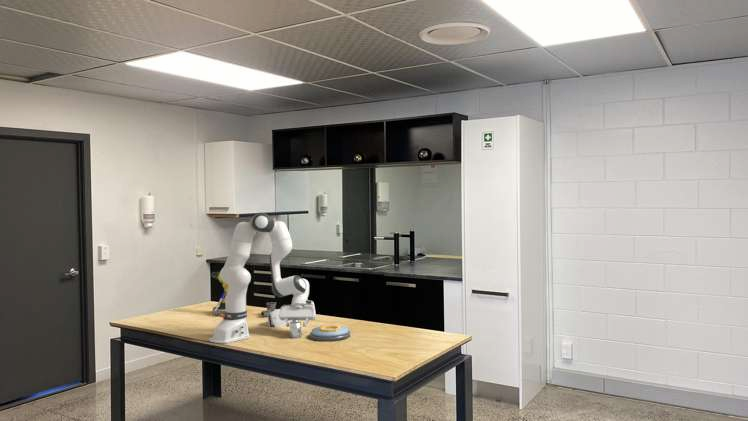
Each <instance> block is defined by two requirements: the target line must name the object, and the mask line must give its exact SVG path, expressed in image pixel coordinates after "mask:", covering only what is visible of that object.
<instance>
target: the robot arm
mask: <svg viewBox="0 0 748 421" xmlns="http://www.w3.org/2000/svg"><path fill="white" fill-rule="evenodd" d="M260 233H261V234H262V233H263V234H264V233H267V234H268V236H269V238H270V243H271V245H272V247H271V248H272V250H271V252H270V254H269V265H270V266H269V267H270V276H271V292H272V294H274V295H275V297H277V298H283V297H286V296H289V295H292V296H293V297H292V298H291V299H292V300H291V304H283V305H282V306H280V308H279V309H280V314H279V318H280V320H285V322H286V324H285V327H286V328H288V327H289V328H290V323H288V320H298V321H304V322H303V323H302V326H303V327H304V328H305V327H306V328H307V324H308V323H309V322H310V321H315V320H316V318H317V314H316V307H315V303H314V301H313V300H309V299H308V298H309V295H310V282H309V281H308V280H307V279H305V278H302V277H301V276H300V275H292V276H288V277H285V278H284V277H283V278H282V277H281V266H280V263H281V261H282V260H283V259H284V258H285V257H287V256H288V255H289V254H290V253H291V251H292V250H293V240H292V238H291V234H290V231H289V229H288V226H287V225H286V223H285V222H284V221H281V220H274V219H273V218H271V217H270V215H268V214H267V213H264V212H258V213H256V214H254V215H253V216H252V218H251V220H250V221H249V222H248V221H242V222H241V221H240V222H239V223H237V224H236V226H235V228H234V232H233V235H232V239H231V242H230V248H229V253H228V256H227V258H226V260H225V263H224V266H223V267H222V268H221V270H220V271H219V272H220V278H221V280H222V281H223V282H224V283H225V284H228V292H227V295H226V297H225V296H224V297H225V307H226V311H225V313H224V314H222V313H221V314H220V315H219V316H218V317H219V318H222V320H221V321H220V322H219V324H218V325H217V326H216V327H215V328H214V330H213V336H212V337H210V338H208V341H209V342H211V343H215V344H229V343H233V342H238V341H242V340H246V339H250V331H249V327H248V321H247V320H248V319H247V317H248V311H247V292H248V287H249V284H250V283H251V280H252V279H251V278H252V276H251V273H250V272H249V270H247V268H245V264H246V262H247V260H248V259H250V255H251V250H252V245H253V239H254V237H255V234H260Z"/></svg>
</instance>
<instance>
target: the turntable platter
mask: <svg viewBox="0 0 748 421" xmlns="http://www.w3.org/2000/svg"><path fill="white" fill-rule="evenodd" d="M348 330H349V328H348V327H346V326H341V325H324V326H317V327H314V328H312V329H311V332H312V335H314V336H318V337H338V336H343V335H346V334H347V333H348Z"/></svg>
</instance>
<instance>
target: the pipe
mask: <svg viewBox="0 0 748 421" xmlns="http://www.w3.org/2000/svg"><path fill="white" fill-rule="evenodd" d="M276 305H277V302H275V301H274V302H273V301H271V302H266V310H262V311H261V312H260V316H261V317H262V318H264V317H265V318H266V317H267V315H268V314H269V313H271V312H272V311H274V310H276Z"/></svg>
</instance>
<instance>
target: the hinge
mask: <svg viewBox="0 0 748 421" xmlns="http://www.w3.org/2000/svg"><path fill="white" fill-rule="evenodd" d="M280 309H281V308H278V309H275V310H274V311H272V312H271V313H269V314H268V315H267V316H266V317H267V322H268V327H272V326H274V328H277V327H280V326H284V325H285V326H286V322H285V320H280V318H279V314H280ZM290 322H292V320H288V323H289V324H290Z"/></svg>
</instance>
